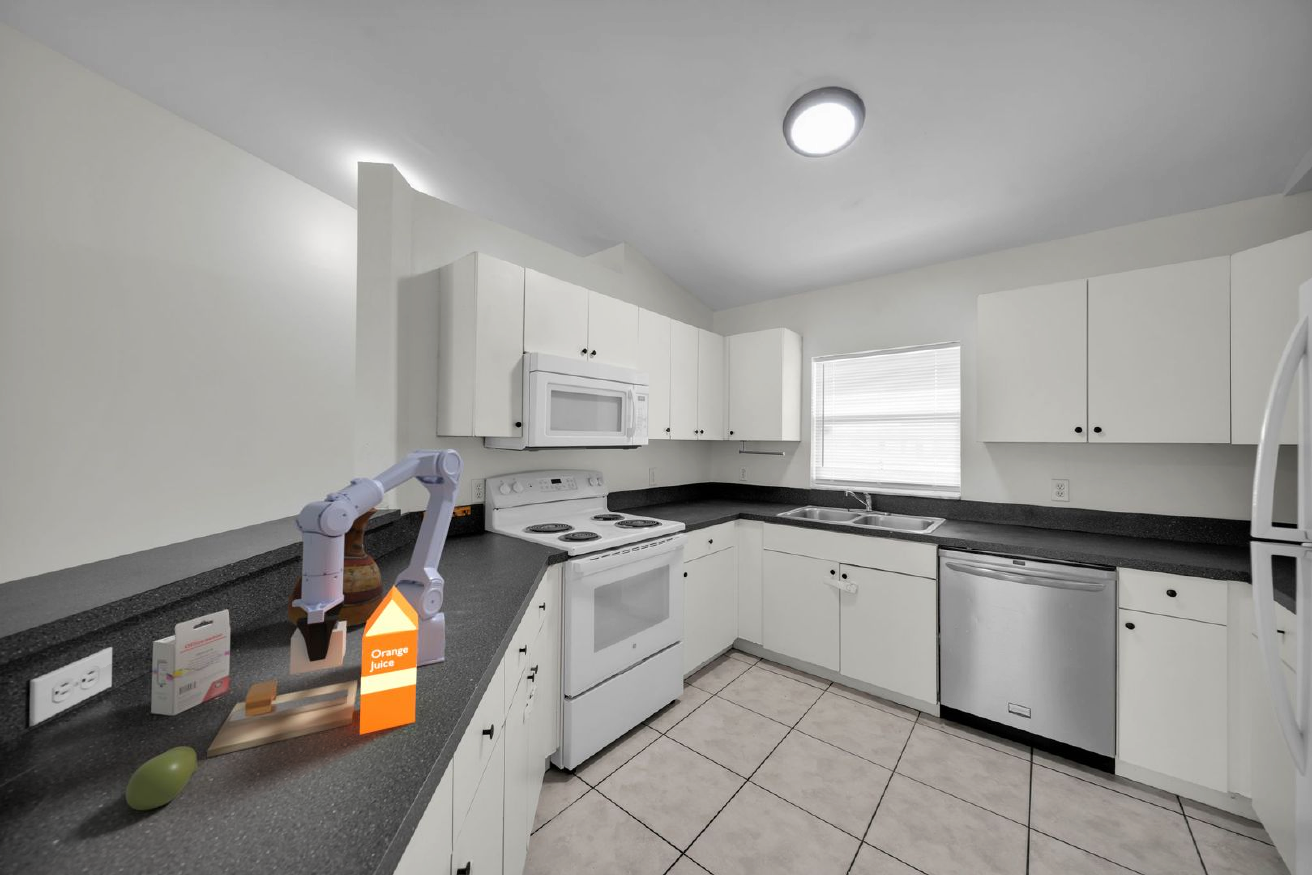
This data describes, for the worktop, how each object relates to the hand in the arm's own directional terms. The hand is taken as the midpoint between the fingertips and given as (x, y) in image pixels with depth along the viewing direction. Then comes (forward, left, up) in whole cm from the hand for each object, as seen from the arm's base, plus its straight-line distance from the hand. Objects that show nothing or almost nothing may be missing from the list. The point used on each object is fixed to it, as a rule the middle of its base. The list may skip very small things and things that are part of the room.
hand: (320, 652), depth 79 cm
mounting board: (+3, +2, -9) cm, 10 cm away
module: (0, 0, -2) cm, 2 cm away
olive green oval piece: (+14, +15, -9) cm, 22 cm away
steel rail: (+3, +2, -9) cm, 10 cm away
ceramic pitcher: (+1, -44, -9) cm, 45 cm away
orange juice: (-10, +8, -9) cm, 16 cm away
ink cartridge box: (+19, -12, -9) cm, 25 cm away
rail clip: (+7, +2, -7) cm, 10 cm away
